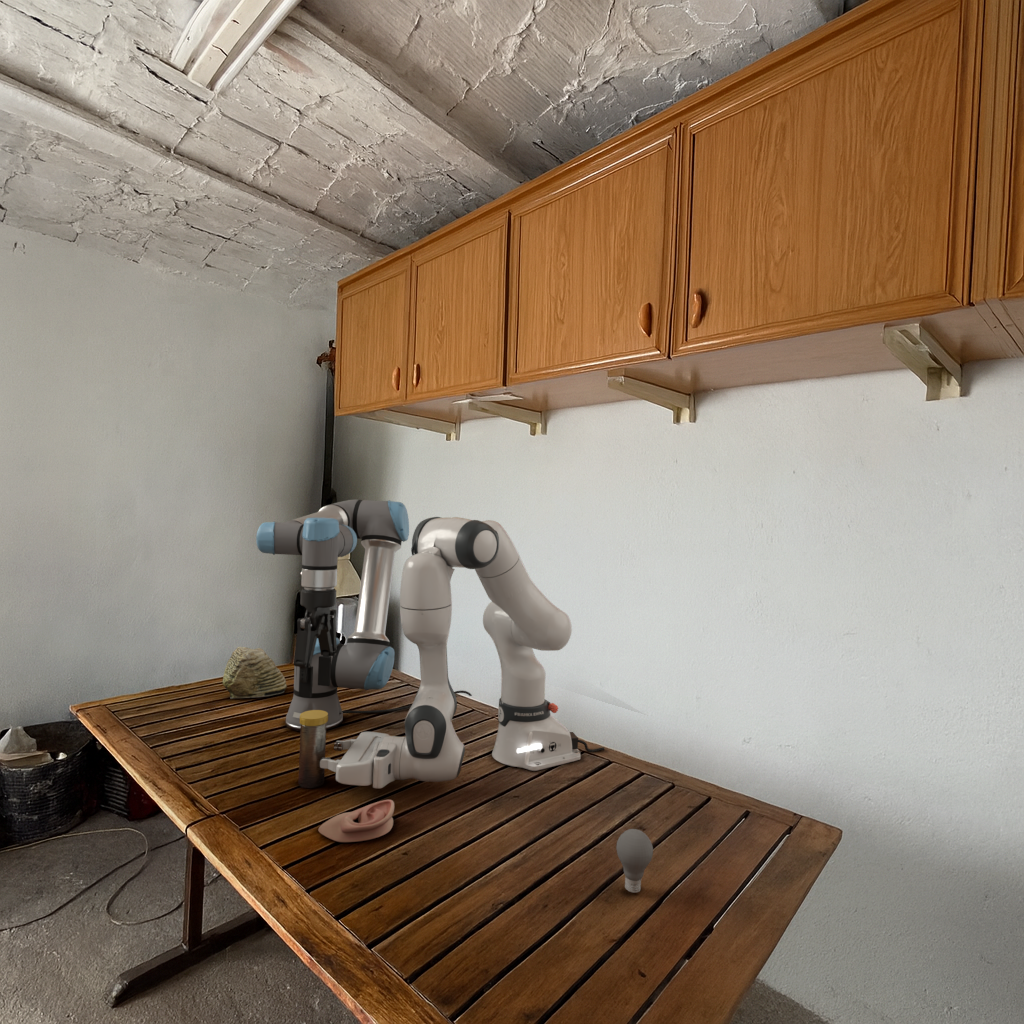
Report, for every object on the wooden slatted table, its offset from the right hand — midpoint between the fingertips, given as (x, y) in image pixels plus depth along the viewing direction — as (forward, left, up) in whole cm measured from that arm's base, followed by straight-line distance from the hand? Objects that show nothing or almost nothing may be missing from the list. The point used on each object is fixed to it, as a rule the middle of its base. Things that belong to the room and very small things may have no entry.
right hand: (328, 753), depth 140 cm
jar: (+3, -2, -7) cm, 8 cm away
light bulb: (-43, +55, -7) cm, 70 cm away
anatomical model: (-3, +21, -7) cm, 22 cm away
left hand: (+3, -2, +14) cm, 14 cm away
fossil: (+14, -69, -7) cm, 71 cm away
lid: (+3, -2, +8) cm, 9 cm away
